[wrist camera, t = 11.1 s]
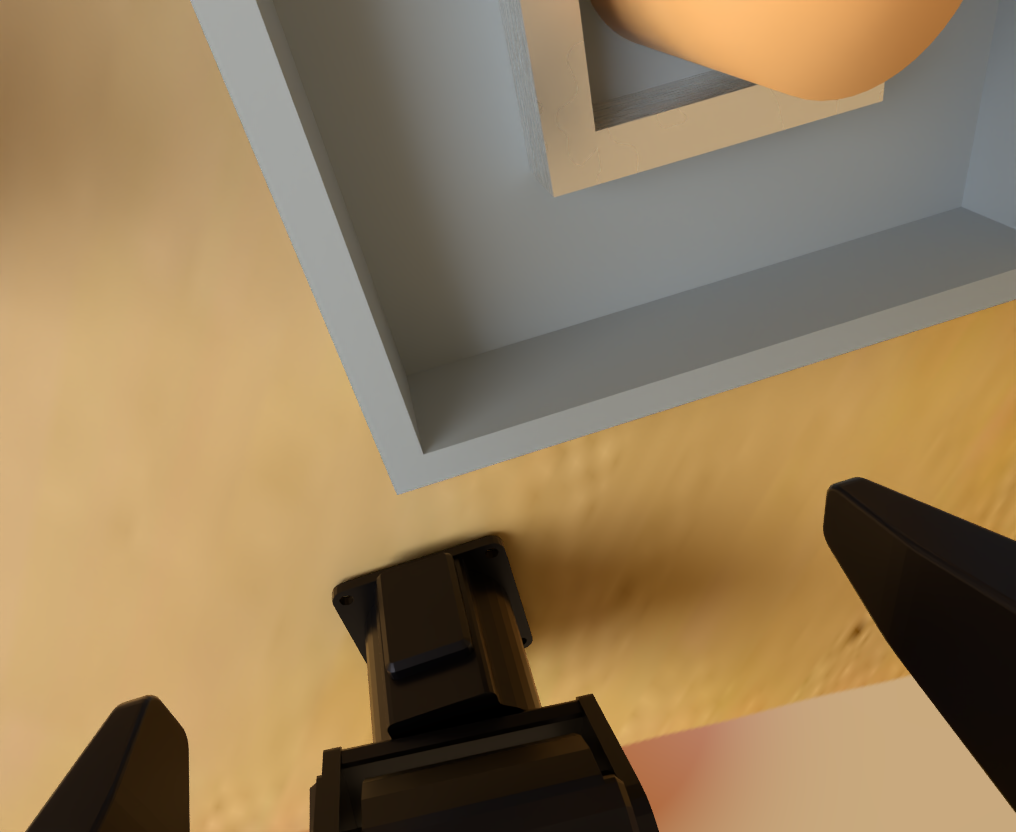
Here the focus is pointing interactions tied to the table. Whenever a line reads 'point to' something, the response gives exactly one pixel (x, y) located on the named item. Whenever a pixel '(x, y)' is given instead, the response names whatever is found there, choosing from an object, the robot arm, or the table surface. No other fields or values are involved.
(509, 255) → the inlet box
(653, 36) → the peach capsule shape
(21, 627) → the table surface
